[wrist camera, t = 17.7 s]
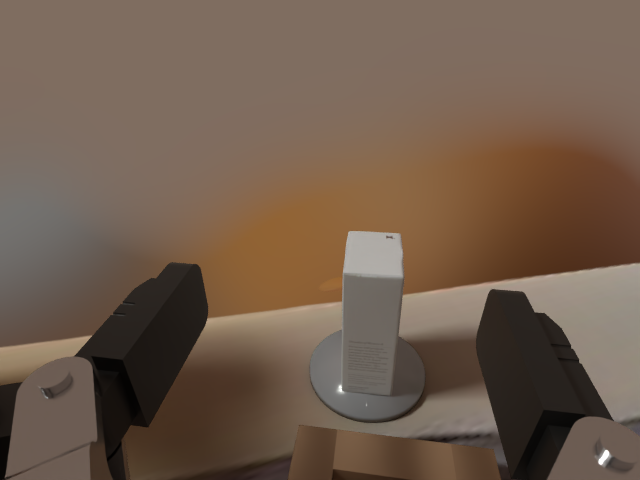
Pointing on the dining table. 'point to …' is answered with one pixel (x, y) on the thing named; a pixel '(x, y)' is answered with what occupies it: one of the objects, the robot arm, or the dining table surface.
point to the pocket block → (385, 458)
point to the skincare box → (371, 311)
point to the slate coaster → (359, 404)
